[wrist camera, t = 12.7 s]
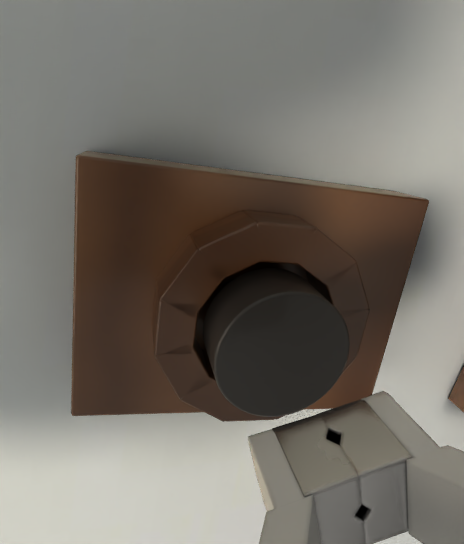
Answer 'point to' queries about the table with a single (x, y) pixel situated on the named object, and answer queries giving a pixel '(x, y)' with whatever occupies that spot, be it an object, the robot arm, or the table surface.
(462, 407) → the tissue box cover
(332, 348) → the key
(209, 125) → the table surface
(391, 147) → the table surface
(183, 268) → the wooden knob base
